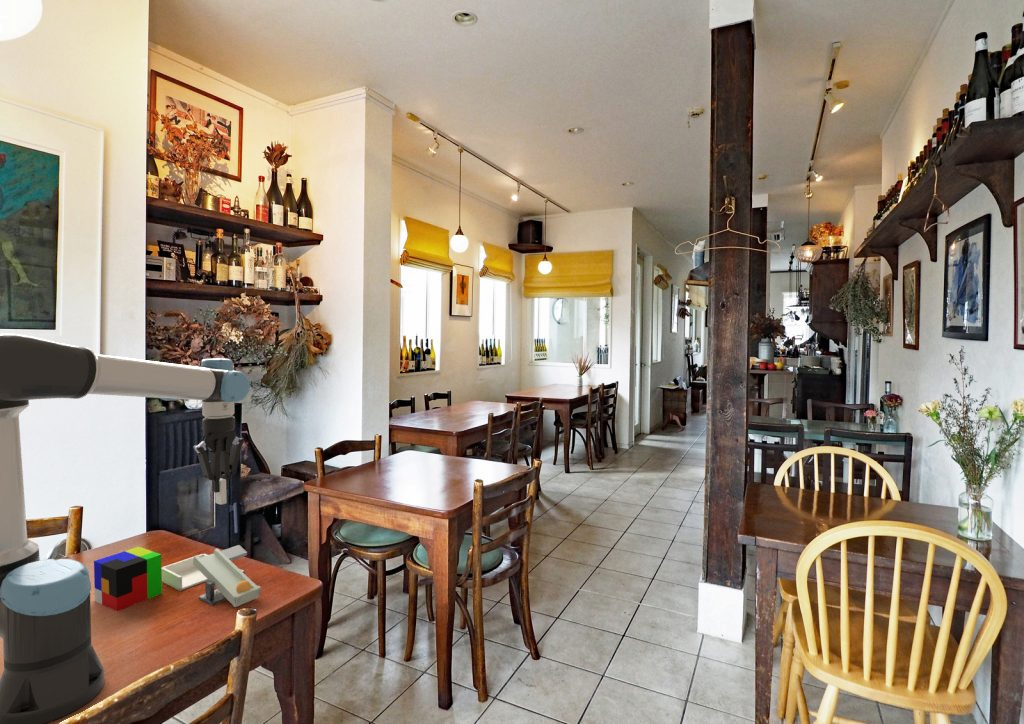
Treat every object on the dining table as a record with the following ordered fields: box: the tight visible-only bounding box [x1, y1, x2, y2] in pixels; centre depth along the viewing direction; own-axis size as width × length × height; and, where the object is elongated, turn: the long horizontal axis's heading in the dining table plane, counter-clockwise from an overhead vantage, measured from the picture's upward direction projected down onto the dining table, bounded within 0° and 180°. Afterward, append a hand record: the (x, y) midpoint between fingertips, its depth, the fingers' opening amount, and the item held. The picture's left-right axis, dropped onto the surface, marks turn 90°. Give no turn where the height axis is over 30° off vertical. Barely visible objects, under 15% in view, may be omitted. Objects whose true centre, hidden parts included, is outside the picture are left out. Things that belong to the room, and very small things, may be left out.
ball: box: [236, 580, 251, 594], centre depth 128 cm, size 3×3×3 cm
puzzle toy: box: [93, 546, 163, 612], centre depth 130 cm, size 10×10×10 cm
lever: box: [193, 544, 262, 608], centre depth 135 cm, size 20×12×3 cm, turn 58°
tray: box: [161, 552, 209, 592], centre depth 141 cm, size 11×10×4 cm
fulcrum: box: [198, 568, 246, 607], centre depth 132 cm, size 6×10×4 cm, turn 148°
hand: (221, 502), depth 142 cm, fingers closed
